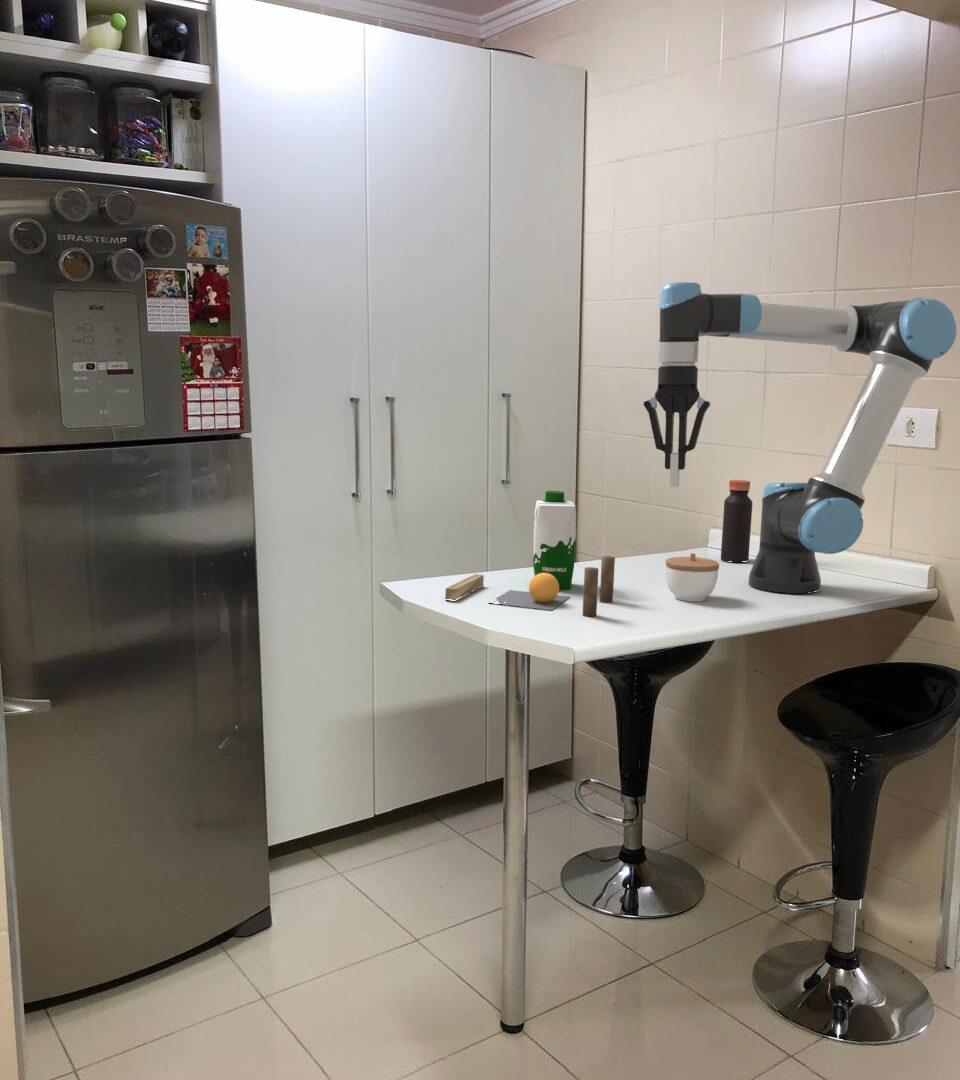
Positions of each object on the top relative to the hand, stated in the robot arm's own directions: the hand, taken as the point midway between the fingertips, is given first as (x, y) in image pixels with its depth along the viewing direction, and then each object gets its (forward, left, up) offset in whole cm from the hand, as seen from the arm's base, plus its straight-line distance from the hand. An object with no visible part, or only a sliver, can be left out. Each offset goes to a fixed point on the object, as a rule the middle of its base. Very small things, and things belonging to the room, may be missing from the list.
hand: (674, 485), depth 201 cm
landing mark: (+26, +11, -24) cm, 37 cm away
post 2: (+12, +4, -24) cm, 27 cm away
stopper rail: (+40, +11, -24) cm, 47 cm away
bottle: (-6, -55, -24) cm, 60 cm away
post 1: (+12, +18, -24) cm, 32 cm away
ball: (+23, +12, -21) cm, 33 cm away
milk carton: (+26, -5, -24) cm, 35 cm away
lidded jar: (-3, -7, -24) cm, 25 cm away
